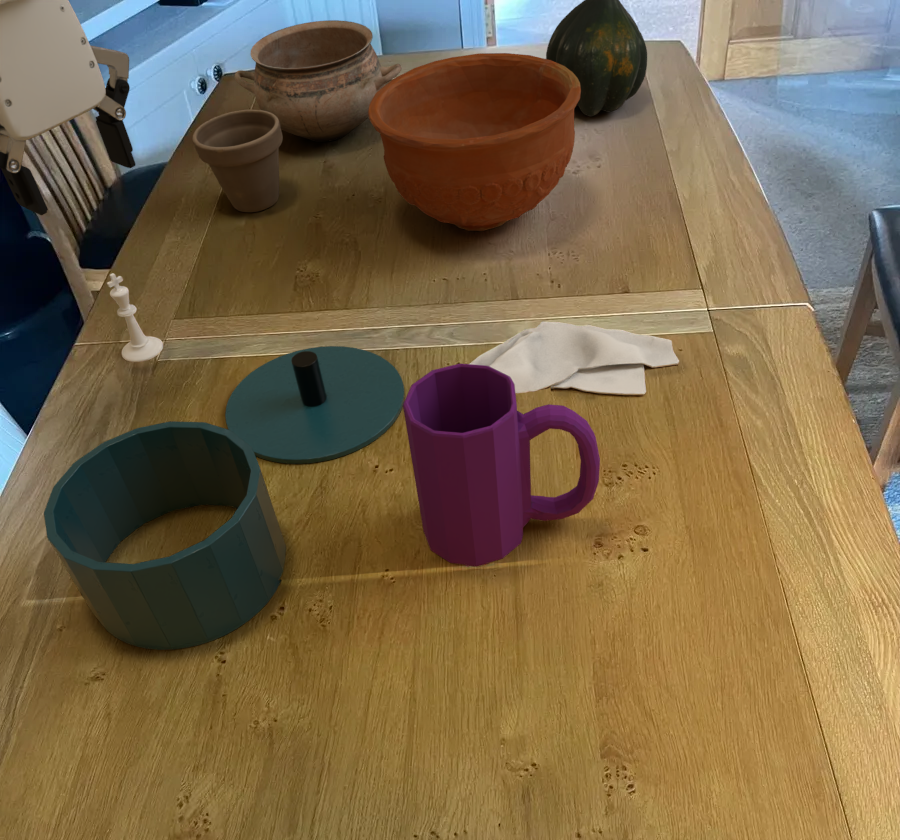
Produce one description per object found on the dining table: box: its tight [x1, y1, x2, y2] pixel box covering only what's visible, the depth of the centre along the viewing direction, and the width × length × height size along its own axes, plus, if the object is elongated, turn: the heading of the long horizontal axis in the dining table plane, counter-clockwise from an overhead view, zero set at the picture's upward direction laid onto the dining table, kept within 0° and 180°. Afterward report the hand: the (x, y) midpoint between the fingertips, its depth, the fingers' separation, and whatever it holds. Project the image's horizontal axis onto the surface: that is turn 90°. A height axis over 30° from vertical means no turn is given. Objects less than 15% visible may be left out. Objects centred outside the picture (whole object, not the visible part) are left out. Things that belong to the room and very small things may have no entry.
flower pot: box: [192, 109, 284, 213], centre depth 125 cm, size 12×11×10 cm
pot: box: [43, 420, 287, 651], centre depth 80 cm, size 18×18×10 cm
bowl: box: [368, 52, 581, 232], centre depth 115 cm, size 25×25×15 cm
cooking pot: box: [234, 19, 402, 143], centre depth 137 cm, size 25×19×12 cm
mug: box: [402, 363, 601, 568], centre depth 78 cm, size 9×16×15 cm, turn 92°
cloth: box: [469, 321, 680, 396], centre depth 98 cm, size 26×14×2 cm, turn 88°
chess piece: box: [106, 272, 164, 363], centre depth 104 cm, size 5×5×10 cm
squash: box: [545, 0, 648, 117], centre depth 135 cm, size 14×15×15 cm
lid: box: [224, 345, 405, 465], centre depth 95 cm, size 19×19×6 cm
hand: (81, 186), depth 85 cm, fingers open, 9 cm apart
